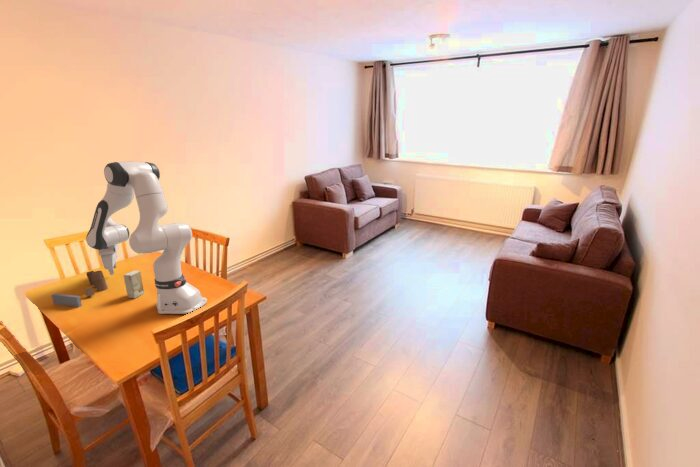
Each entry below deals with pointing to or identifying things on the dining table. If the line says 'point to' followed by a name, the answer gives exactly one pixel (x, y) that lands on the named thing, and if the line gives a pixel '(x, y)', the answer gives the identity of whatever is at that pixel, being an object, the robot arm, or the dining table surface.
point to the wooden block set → (95, 282)
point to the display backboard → (66, 300)
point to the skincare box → (134, 284)
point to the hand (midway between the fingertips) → (113, 270)
